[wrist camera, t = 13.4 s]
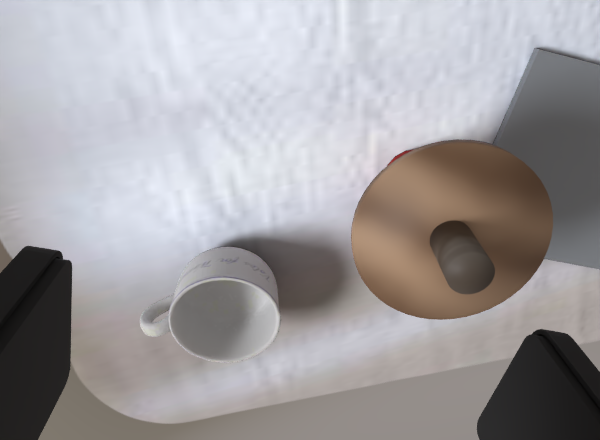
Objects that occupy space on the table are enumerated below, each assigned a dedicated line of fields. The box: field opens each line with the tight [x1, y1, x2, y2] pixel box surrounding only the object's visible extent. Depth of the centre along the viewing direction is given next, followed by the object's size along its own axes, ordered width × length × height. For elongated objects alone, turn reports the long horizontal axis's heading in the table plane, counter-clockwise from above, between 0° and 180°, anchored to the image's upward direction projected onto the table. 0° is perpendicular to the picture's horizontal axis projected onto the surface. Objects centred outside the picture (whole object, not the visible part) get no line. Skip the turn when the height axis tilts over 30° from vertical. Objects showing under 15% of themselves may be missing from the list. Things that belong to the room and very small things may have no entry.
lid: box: [351, 140, 553, 319], centre depth 34 cm, size 15×15×6 cm
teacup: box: [140, 247, 281, 363], centre depth 49 cm, size 14×11×8 cm
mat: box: [493, 48, 600, 269], centre depth 48 cm, size 20×20×1 cm
